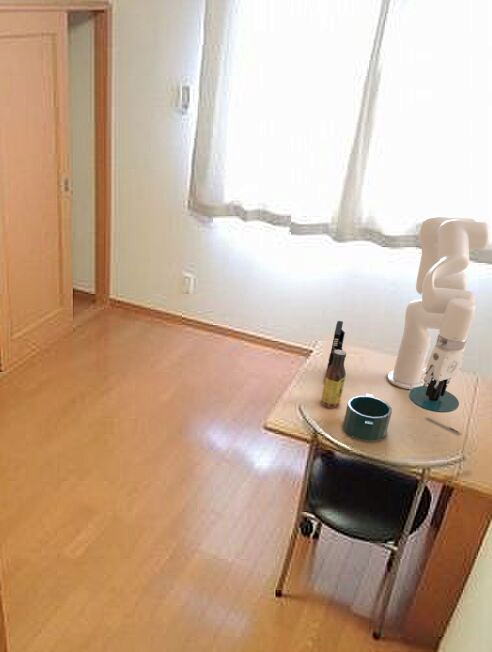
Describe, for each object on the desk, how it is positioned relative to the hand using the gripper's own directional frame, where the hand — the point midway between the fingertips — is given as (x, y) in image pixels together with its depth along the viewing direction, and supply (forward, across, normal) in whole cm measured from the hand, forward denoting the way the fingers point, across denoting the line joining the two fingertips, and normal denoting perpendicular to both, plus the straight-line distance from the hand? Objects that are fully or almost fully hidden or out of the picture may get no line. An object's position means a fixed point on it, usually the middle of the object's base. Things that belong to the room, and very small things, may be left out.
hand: (434, 395), depth 196 cm
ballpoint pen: (+18, +13, +3) cm, 22 cm away
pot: (+17, -12, +13) cm, 24 cm away
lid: (+2, 0, 0) cm, 2 cm away
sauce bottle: (+18, -10, +30) cm, 36 cm away
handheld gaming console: (+18, +3, +44) cm, 47 cm away
